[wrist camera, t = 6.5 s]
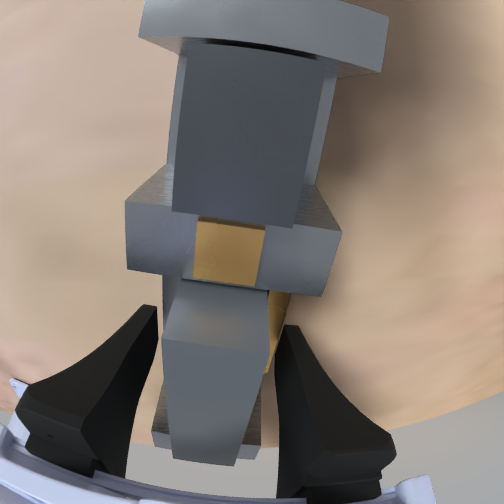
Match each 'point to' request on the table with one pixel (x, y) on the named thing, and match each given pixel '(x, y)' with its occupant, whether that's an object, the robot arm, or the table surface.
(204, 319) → the panel
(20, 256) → the table surface
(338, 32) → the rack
